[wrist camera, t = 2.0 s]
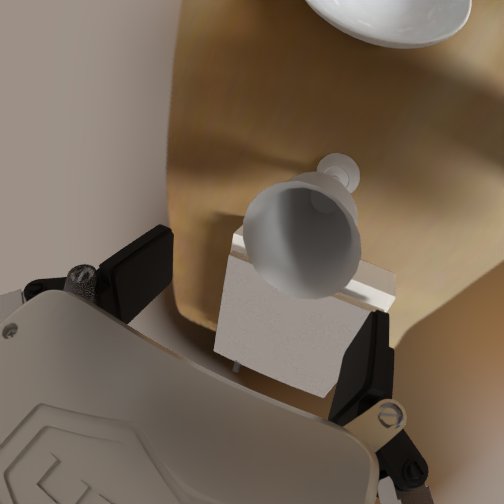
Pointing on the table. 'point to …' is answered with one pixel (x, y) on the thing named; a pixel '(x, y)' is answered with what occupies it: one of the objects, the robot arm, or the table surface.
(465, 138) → the table surface
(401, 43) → the cereal bowl
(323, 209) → the chalice
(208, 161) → the table surface
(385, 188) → the table surface
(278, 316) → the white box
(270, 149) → the table surface
